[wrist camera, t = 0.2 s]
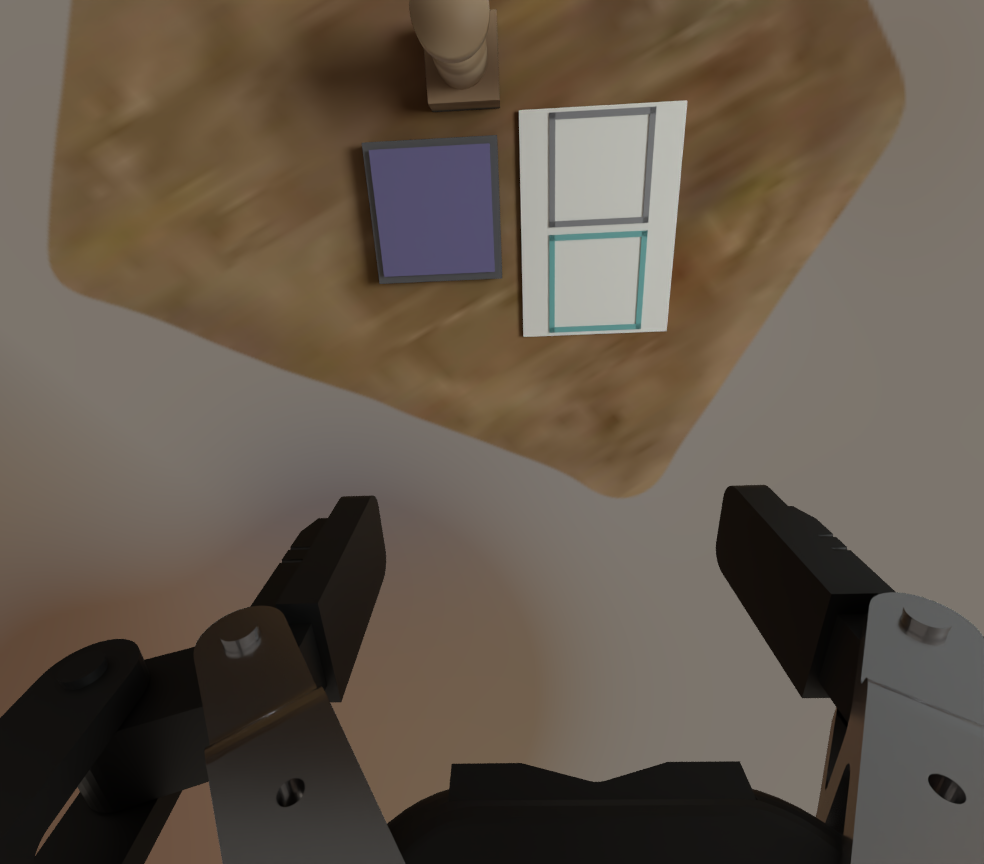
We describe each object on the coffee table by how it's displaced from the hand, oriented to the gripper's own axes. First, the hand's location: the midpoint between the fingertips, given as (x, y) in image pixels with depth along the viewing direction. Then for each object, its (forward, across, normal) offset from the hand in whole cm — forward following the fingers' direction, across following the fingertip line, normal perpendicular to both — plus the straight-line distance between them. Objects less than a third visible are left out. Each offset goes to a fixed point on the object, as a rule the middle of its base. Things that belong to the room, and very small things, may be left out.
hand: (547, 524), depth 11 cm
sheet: (+28, -6, -6) cm, 30 cm away
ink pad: (+28, +6, -8) cm, 30 cm away
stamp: (+28, +3, -16) cm, 33 cm away
